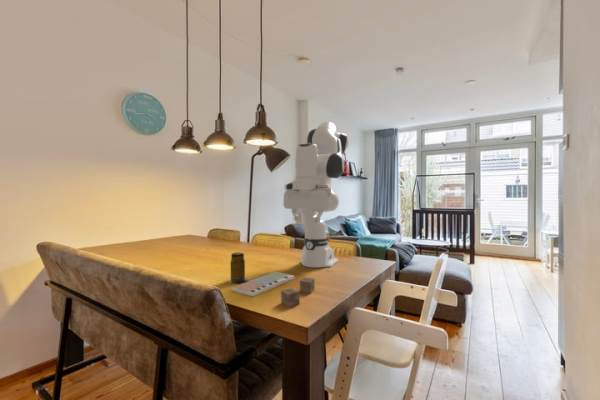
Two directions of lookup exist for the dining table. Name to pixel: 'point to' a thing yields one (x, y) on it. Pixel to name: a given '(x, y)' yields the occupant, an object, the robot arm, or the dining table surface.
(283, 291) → the walnut block
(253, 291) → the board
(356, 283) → the dining table surface
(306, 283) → the walnut block
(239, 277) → the condiment
